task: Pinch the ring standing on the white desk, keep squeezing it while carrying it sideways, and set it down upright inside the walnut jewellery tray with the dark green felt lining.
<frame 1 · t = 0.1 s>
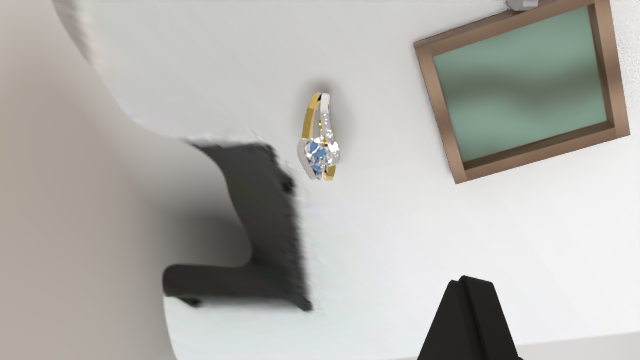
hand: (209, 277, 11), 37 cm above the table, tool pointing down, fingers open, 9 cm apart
ring: (325, 121, 49), on the table
jewellery tray: (517, 84, 46), on the table
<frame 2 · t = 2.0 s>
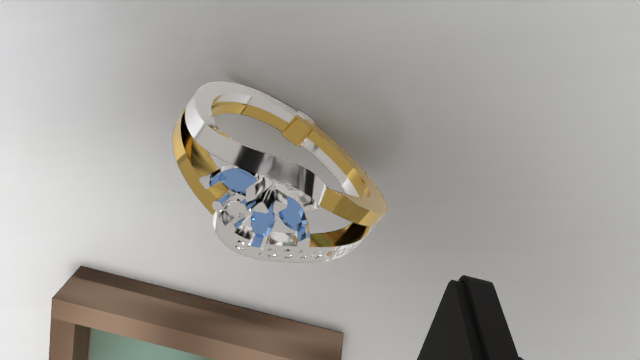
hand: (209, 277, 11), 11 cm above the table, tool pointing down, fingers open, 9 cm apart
ring: (301, 122, 22), on the table
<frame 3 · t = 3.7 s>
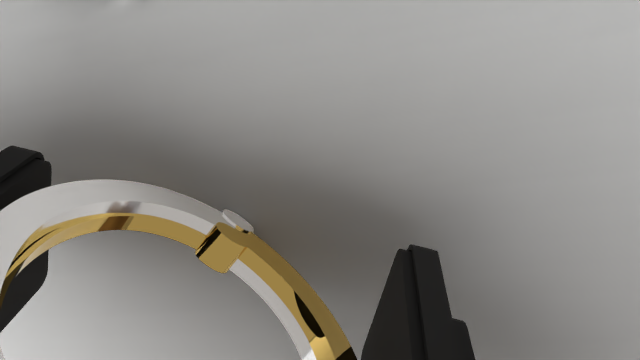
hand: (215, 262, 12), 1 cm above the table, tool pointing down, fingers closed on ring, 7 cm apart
ring: (232, 224, 13), on the table, touching gripper
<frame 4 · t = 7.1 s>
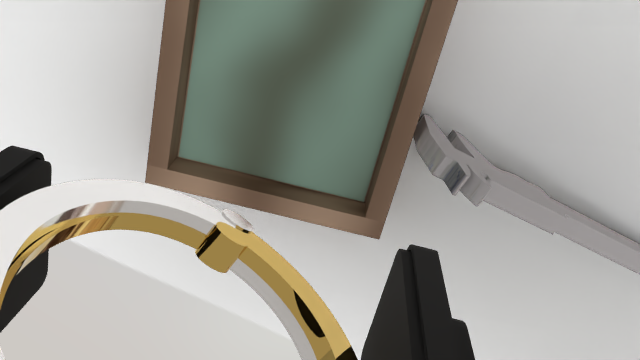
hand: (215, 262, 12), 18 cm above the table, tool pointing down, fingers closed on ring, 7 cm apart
caliper: (579, 212, 30), on the table
ring: (232, 224, 13), point 16 cm above the table, touching gripper
jewellery tray: (298, 65, 28), on the table
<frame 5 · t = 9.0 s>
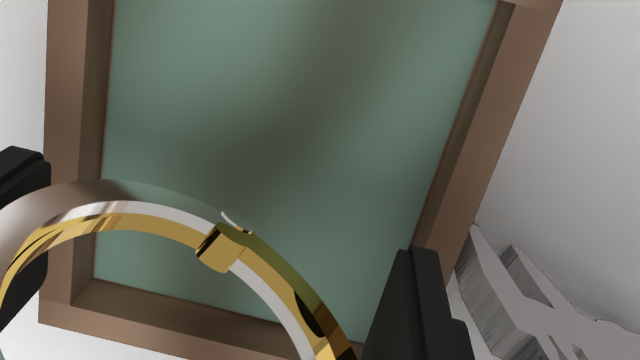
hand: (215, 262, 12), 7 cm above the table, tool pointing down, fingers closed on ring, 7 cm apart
ring: (232, 224, 13), point 5 cm above the table, touching gripper
jewellery tray: (272, 146, 18), on the table
when the fingers open (3 cm above the table, at t = 10.7 s): ring drops 1 cm, resting on jewellery tray.
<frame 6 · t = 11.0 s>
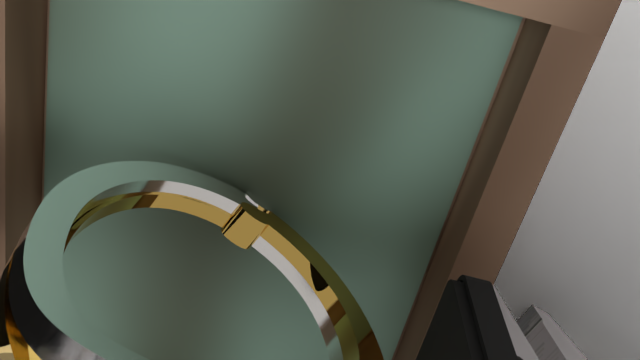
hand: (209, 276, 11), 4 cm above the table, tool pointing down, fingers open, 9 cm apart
ring: (253, 205, 14), point 1 cm above the table, touching jewellery tray
jewellery tray: (247, 189, 15), on the table
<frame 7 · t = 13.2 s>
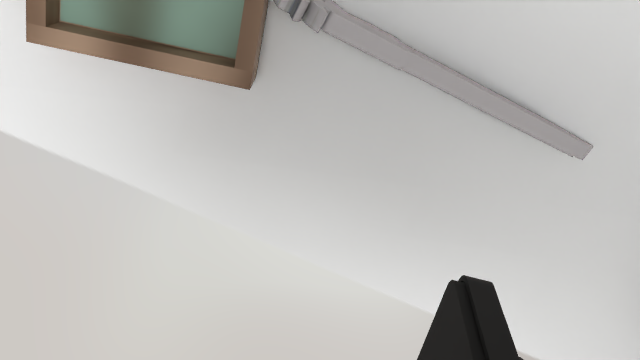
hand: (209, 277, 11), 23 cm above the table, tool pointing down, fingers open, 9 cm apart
caliper: (441, 68, 33), on the table
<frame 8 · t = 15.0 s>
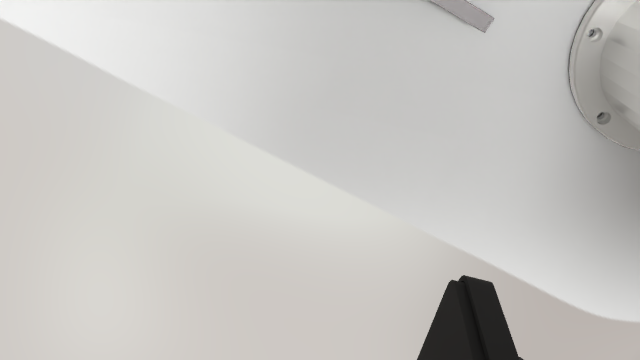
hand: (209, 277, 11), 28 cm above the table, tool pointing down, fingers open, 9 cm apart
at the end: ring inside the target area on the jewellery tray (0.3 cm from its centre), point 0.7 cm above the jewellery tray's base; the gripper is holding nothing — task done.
